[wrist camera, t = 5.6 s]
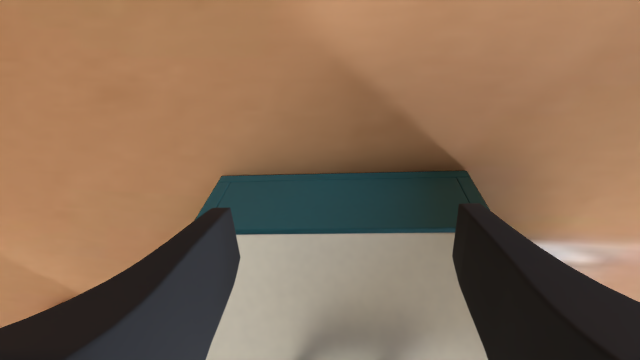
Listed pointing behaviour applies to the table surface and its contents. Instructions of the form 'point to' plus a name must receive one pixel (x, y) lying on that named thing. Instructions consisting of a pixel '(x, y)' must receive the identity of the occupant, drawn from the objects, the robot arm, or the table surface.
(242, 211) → the cool box
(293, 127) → the table surface
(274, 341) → the lid
